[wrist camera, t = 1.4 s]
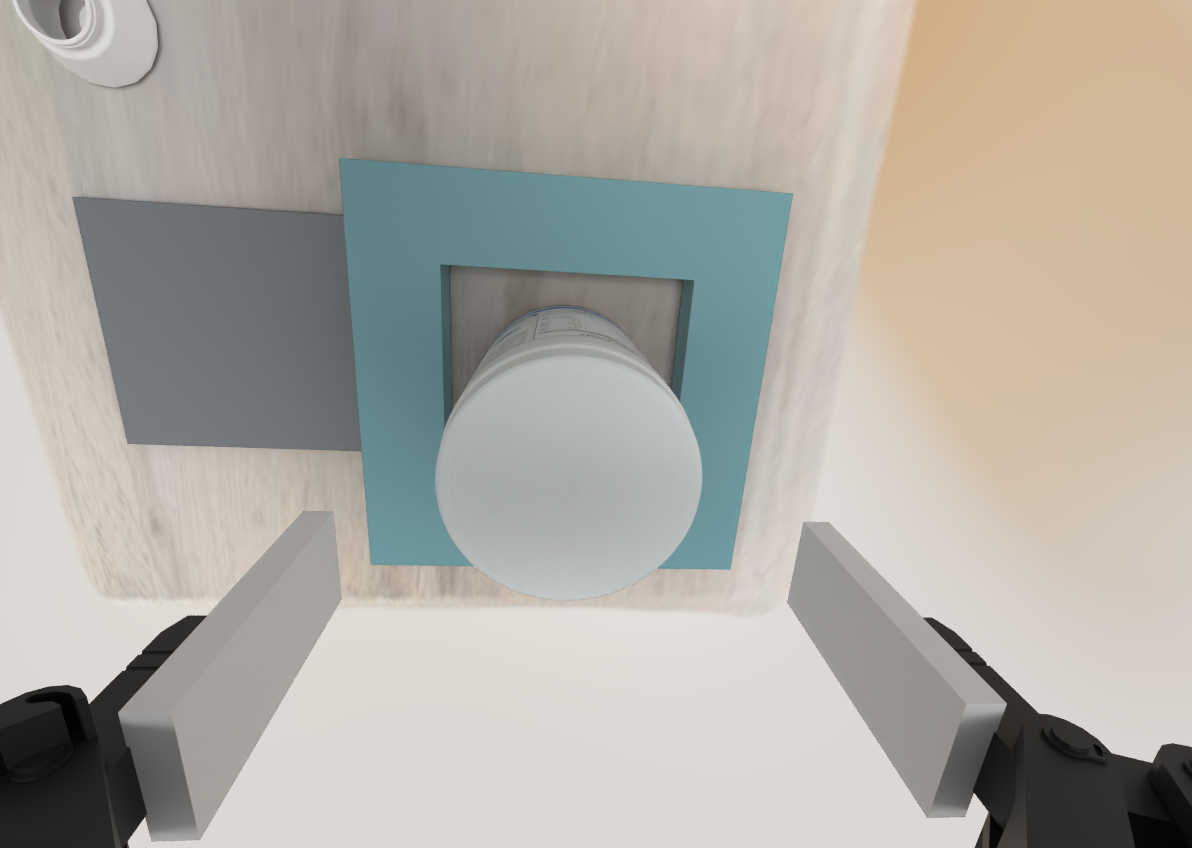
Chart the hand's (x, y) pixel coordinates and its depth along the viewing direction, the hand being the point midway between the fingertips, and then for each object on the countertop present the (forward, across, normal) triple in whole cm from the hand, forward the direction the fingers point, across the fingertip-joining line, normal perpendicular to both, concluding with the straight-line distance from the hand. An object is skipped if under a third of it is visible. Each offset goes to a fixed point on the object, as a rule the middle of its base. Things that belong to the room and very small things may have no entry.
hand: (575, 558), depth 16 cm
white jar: (+18, -22, +17) cm, 33 cm away
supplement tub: (+18, 0, 0) cm, 18 cm away
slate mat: (+18, -18, +2) cm, 26 cm away
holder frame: (+18, 0, 0) cm, 18 cm away
